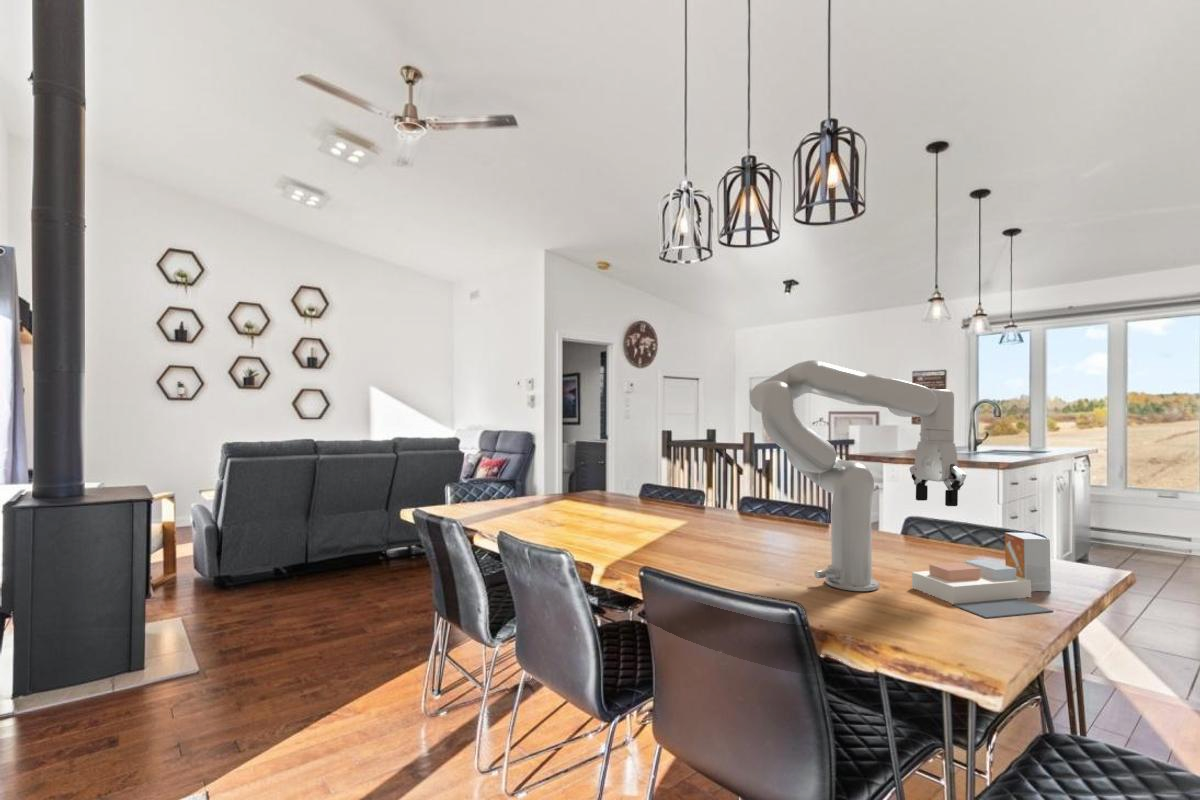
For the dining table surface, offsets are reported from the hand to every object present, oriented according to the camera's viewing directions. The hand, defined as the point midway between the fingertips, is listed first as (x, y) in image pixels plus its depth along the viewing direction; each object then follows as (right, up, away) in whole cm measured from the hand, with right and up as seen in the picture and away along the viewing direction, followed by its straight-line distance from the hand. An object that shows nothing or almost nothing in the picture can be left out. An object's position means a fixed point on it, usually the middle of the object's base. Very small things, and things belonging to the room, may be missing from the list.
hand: (936, 503), depth 153 cm
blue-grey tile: (+10, -17, -7) cm, 20 cm away
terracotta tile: (0, -17, -8) cm, 19 cm away
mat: (+3, -20, -20) cm, 29 cm away
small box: (+21, -21, -3) cm, 30 cm away
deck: (+4, -21, -8) cm, 22 cm away
